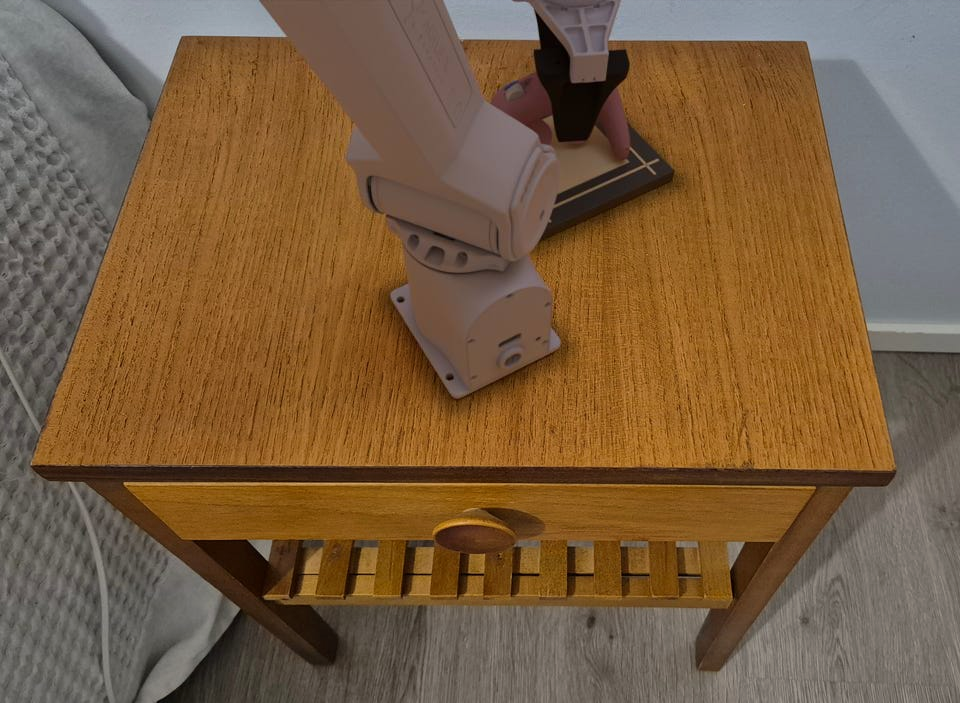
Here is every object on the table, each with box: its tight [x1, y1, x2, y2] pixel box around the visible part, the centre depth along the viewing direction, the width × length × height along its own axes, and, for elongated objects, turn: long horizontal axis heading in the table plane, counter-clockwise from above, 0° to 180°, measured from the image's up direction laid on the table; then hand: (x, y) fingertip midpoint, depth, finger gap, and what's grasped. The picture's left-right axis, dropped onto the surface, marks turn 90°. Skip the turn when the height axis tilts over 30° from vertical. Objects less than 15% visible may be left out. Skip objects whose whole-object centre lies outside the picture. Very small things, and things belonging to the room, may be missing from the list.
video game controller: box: [490, 71, 630, 160], centre depth 59 cm, size 10×5×7 cm, turn 105°
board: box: [539, 114, 675, 242], centre depth 61 cm, size 12×12×1 cm
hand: (565, 99), depth 57 cm, fingers open, 7 cm apart
